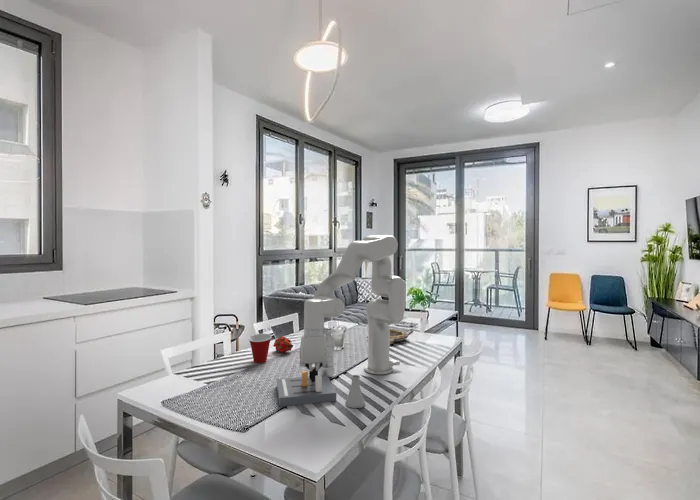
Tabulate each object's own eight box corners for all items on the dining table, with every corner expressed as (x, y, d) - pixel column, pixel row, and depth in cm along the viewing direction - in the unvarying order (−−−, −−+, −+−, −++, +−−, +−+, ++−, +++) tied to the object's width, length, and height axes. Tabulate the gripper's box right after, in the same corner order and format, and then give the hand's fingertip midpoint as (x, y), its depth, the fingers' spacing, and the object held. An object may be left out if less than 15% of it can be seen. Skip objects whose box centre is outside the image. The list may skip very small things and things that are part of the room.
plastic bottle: (318, 374, 160) (318, 327, 159) (334, 373, 161) (334, 327, 160) (318, 379, 154) (318, 331, 153) (334, 379, 154) (335, 331, 154)
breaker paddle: (306, 383, 141) (306, 370, 141) (307, 386, 139) (307, 372, 139) (301, 384, 141) (301, 371, 140) (302, 386, 138) (302, 373, 138)
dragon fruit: (276, 352, 196) (291, 360, 189) (266, 345, 190) (281, 353, 183) (284, 337, 199) (300, 345, 192) (275, 330, 193) (290, 338, 186)
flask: (363, 410, 127) (364, 381, 127) (343, 407, 128) (343, 379, 128) (367, 401, 134) (367, 373, 134) (347, 399, 135) (347, 371, 135)
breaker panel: (326, 382, 151) (327, 362, 151) (336, 401, 134) (336, 378, 133) (276, 386, 146) (276, 365, 146) (279, 406, 129) (279, 383, 128)
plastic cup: (243, 363, 173) (243, 337, 172) (257, 356, 183) (257, 332, 182) (262, 366, 169) (262, 340, 168) (276, 359, 179) (276, 334, 178)
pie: (367, 333, 233) (368, 325, 232) (412, 335, 230) (412, 327, 230) (365, 346, 205) (365, 337, 205) (415, 348, 202) (415, 339, 202)
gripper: (331, 328, 145) (331, 375, 146) (292, 330, 142) (292, 378, 142) (335, 333, 138) (335, 382, 139) (295, 335, 134) (294, 386, 135)
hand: (313, 380), depth 140 cm, fingers closed
